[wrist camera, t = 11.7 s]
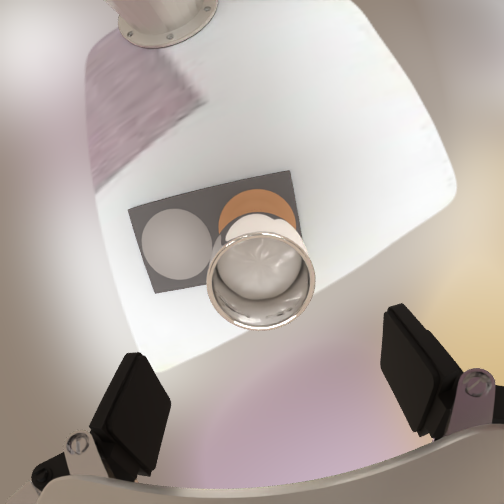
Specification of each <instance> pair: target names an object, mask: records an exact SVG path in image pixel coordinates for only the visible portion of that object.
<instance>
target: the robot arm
mask: <svg viewBox="0 0 504 504" xmlns="http://www.w3.org/2000/svg"><path fill="white" fill-rule="evenodd" d="M104 1H105V2H106V3H107V4H108V5H109V6H111V7H112V8H113V9H114V10H115V11H116V12H117V13H118V14H119V17H118V26H119V30H120V32H121V34H122V36H123V37H125V38H126V39H127V40H128V41H129V42H131V43H132V44H134V45H136V46H139V47H144V48H160V47H166V46H170V45H173V44H176V43H179V42H181V41H184V40H186V39H187V38H189V37H191V36H193V35H194V34H196V33H197V32H198V31H200V30H201V29H202V28H203V27H204V26H205V25H206V24H207V23H208V22H209V21H210V20H211V18H212V17H213V15H214V13H215V11H216V9H217V3H218V0H104ZM207 11H208V12H207ZM172 38H173V39H172ZM380 365H381V369H382V372H383V374H384V375H385V378H386V380H387V381H388V383H389V385H390V387H391V389H392V391H393V393H394V395H395V397H396V399H397V401H398V403H399V405H400V407H401V409H402V411H403V413H404V415H405V417H406V419H407V421H408V423H409V425H410V427H411V429H412V431H413V432H417V433H418V435H419V437H421V436H424V435H426V434H428V433H429V434H430V436H431V438H433V440H432V442H431V443H429V444H427V445H424V446H422V447H419V448H417V449H415V450H412V451H410V452H407V453H405V454H402V455H399V456H397V457H394V458H391V459H389V460H385V461H382V462H380V463H377V464H373V465H371V466H367V467H364V468H361V469H357V470H353V471H350V472H346V473H342V474H339V475H334V476H330V477H325V478H321V479H315V480H310V481H305V482H298V483H292V484H285V485H277V486H268V487H257V488H242V489H194V488H193V489H192V488H178V487H167V486H157V485H149V484H142V483H139V482H138V480H137V475H142V476H151V472H152V470H154V469H155V467H156V463H157V459H158V455H159V451H160V447H161V442H162V439H163V435H164V431H165V427H166V423H167V419H168V416H169V412H170V408H171V401H170V398H169V396H168V395H167V393H166V392H165V390H164V388H163V386H162V385H161V383H160V381H159V380H158V378H157V376H156V374H155V373H154V371H153V369H152V367H151V365H150V363H149V362H148V360H147V358H146V357H145V356H143V355H142V354H141V353H139V352H137V353H127V354H126V355H125V356H124V358H123V360H122V362H121V364H120V365H119V367H118V369H117V371H116V373H115V375H114V377H113V379H112V381H111V383H110V385H109V387H108V389H107V391H106V392H105V394H104V397H103V398H102V401H101V402H100V404H99V407H98V409H97V411H96V413H95V415H94V417H93V419H92V421H91V423H90V425H89V427H90V428H91V431H90V433H89V432H88V431H86V430H77V431H74V432H73V433H71V434H70V435H69V436H68V437H67V438H66V440H65V441H64V445H63V447H64V452H63V453H61V454H59V455H57V456H55V457H53V458H51V459H49V460H47V461H45V462H43V463H41V464H39V465H38V466H36V468H35V469H34V470H33V473H32V477H31V478H32V482H31V481H30V480H28V481H27V482H26V483H25V484H24V485H23V486H22V487H20V488H19V489H18V490H17V491H16V492H15V493H14V494H12V495H11V496H10V497H9V498H8V499H7V501H6V503H5V504H504V386H498V385H495V380H494V378H493V376H492V375H491V374H490V373H489V372H488V371H486V370H484V369H480V368H473V369H470V370H467V371H466V372H463V371H462V370H461V368H460V367H459V366H458V365H457V363H456V362H455V361H454V360H453V358H452V357H451V356H450V355H449V353H448V352H447V351H446V350H445V349H444V347H443V346H442V345H441V344H440V343H439V341H438V340H437V339H436V338H435V337H434V336H433V334H432V333H431V332H430V331H429V330H426V329H425V328H424V327H423V325H421V323H420V322H419V321H418V320H417V319H416V317H415V316H414V315H413V314H412V313H411V312H410V311H409V309H407V307H406V306H405V305H404V304H402V303H401V304H397V305H394V306H391V307H389V308H388V310H387V312H385V313H384V321H383V337H382V350H381V361H380Z"/></svg>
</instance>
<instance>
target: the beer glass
mask: <svg viewBox="0 0 504 504" xmlns="http://www.w3.org/2000/svg"><path fill="white" fill-rule="evenodd" d="M206 284H207V292H208V295H209V298H210V301H211V303H212V305H213V306H214V308H215V309H216V311H217V312H218V313H219V314H220V315H221V316H222V317H223V318H224V319H226V320H227V321H228V322H230V323H232V324H234V325H236V326H238V327H241V328H244V329H248V330H256V331H265V330H272V329H276V328H279V327H282V326H284V325H286V324H288V323H290V322H292V321H293V320H295V319H296V318H297V317H298V316H300V315H301V313H302V312H303V311H304V310H305V309H306V308H307V306H308V304H309V302H310V301H311V299H312V296H313V293H314V289H315V272H314V268H313V265H312V262H311V260H310V258H309V254H308V252H307V249H306V246H305V244H304V242H303V240H302V238H301V237H300V235H299V234H298V232H297V231H296V230H295V228H294V227H293V226H292V225H291V224H290V223H289V222H288V221H287V220H285V219H284V218H282V215H281V213H280V211H279V210H278V209H277V208H276V207H275V206H274V205H273V204H271V203H270V202H267V201H265V200H260V199H253V200H248V201H245V202H243V203H241V204H240V205H239V206H237V207H236V208H235V210H234V211H233V213H232V214H231V217H230V220H229V223H228V224H227V225H226V226H225V227H224V228H223V229H222V231H221V232H220V234H219V236H218V238H217V239H216V242H215V244H214V247H213V250H212V253H211V258H210V263H209V269H208V272H207V280H206Z"/></svg>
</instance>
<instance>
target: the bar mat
mask: <svg viewBox="0 0 504 504" xmlns="http://www.w3.org/2000/svg"><path fill="white" fill-rule="evenodd" d="M253 199H260V200H265V201H267V202H270V203H271V204H273V205H274V206H275V207H276V208H277V209H278V210H279V211H280V213H281V215H282V218H284V219H285V220H287V221H288V222H289V223H290V224H291V225H292V226H293V227H294V228H295V230H296V231H297V232H298V234H299V235H300V237H301V238H302V235H301V229H300V223H299V217H298V212H297V206H296V201H295V195H294V190H293V184H292V179H291V174H290V171H284V172H278V173H273V174H268V175H263V176H258V177H253V178H248V179H244V180H239V181H235V182H230V183H226V184H221V185H217V186H213V187H209V188H204V189H200V190H196V191H192V192H189V193H185V194H181V195H177V196H173V197H170V198H166V199H162V200H159V201H155V202H152V203H148V204H145V205H141V206H138V207H135V208H131V209H129V210H128V212H129V216H130V219H131V223H132V226H133V230H134V233H135V236H136V239H137V243H138V246H139V249H140V252H141V255H142V258H143V261H144V264H145V267H146V270H147V273H148V275H149V278H150V281H151V284H152V287H153V289H154V292H155V293H161V292H167V291H173V290H178V289H184V288H189V287H195V286H200V285H206V280H207V272H208V269H209V263H210V258H211V253H212V250H213V247H214V244H215V242H216V239H217V238H218V236H219V234H220V232H221V231H222V229H223V228H224V227H225V226H226V225H227V224H228V223H229V220H230V217H231V214H232V213H233V211H234V210H235V208H236V207H237V206H239V205H240V204H241V203H243V202H245V201H248V200H253Z"/></svg>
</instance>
